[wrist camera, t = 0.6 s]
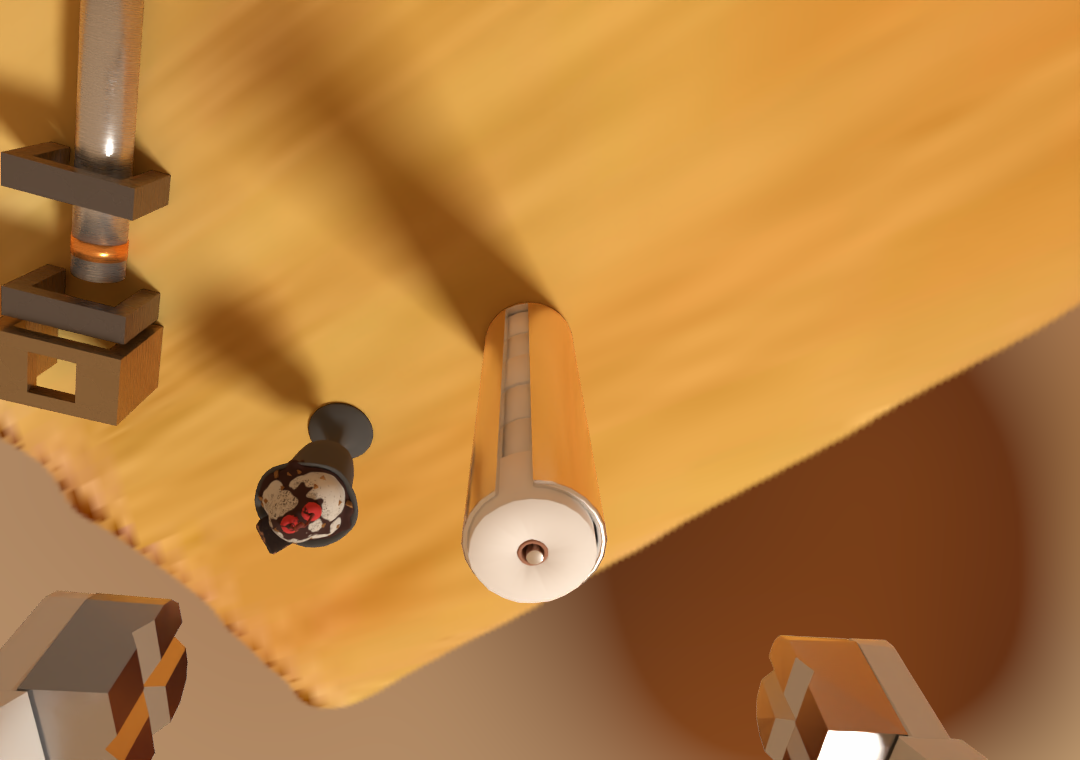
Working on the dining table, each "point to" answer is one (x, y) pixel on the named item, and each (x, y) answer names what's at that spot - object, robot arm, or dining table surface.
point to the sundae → (315, 483)
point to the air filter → (532, 463)
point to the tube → (105, 128)
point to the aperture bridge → (78, 370)
